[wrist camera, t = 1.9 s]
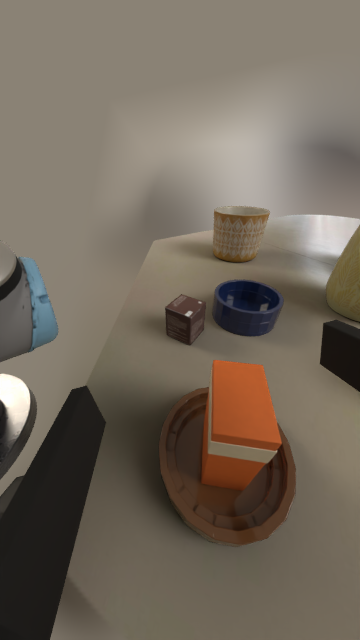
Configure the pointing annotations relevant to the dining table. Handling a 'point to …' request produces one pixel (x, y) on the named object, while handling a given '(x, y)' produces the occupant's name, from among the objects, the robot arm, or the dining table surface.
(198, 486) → the bowl
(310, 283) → the dining table surface
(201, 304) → the box
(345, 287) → the vase
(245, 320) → the pot
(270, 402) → the packet
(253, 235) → the planter
